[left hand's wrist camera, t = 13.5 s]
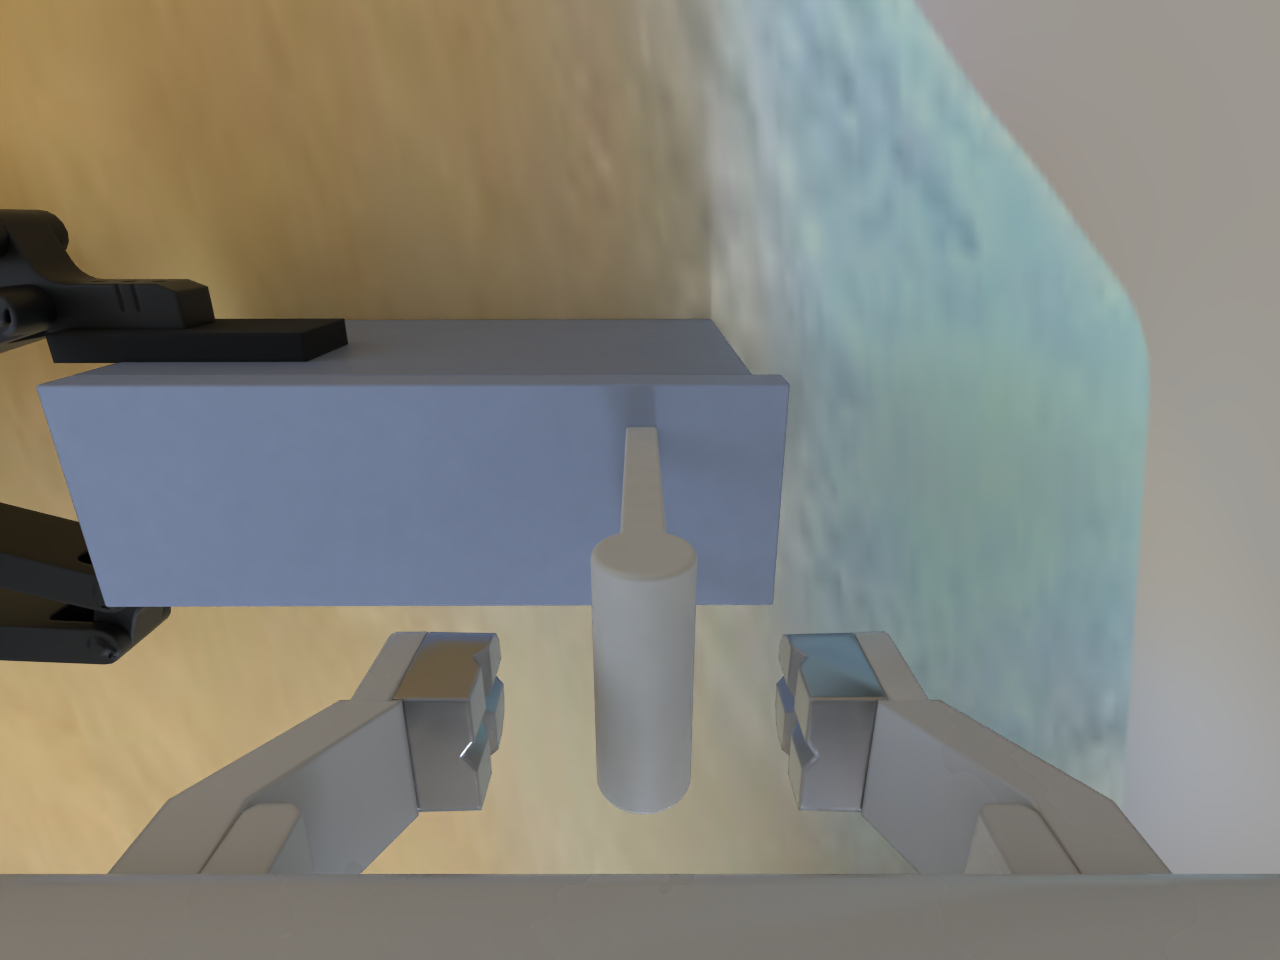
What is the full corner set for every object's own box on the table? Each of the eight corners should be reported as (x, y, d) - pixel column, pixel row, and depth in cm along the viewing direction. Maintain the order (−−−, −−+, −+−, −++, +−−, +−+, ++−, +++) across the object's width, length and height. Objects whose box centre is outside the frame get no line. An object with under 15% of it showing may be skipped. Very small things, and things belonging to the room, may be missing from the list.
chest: (711, 318, 25) (752, 373, 16) (706, 464, 27) (740, 585, 18) (273, 320, 25) (69, 375, 16) (300, 465, 27) (133, 586, 18)
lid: (781, 374, 16) (913, 515, 8) (766, 586, 18) (861, 858, 10) (68, 376, 16) (-458, 519, 8) (132, 588, 18) (-246, 861, 10)
